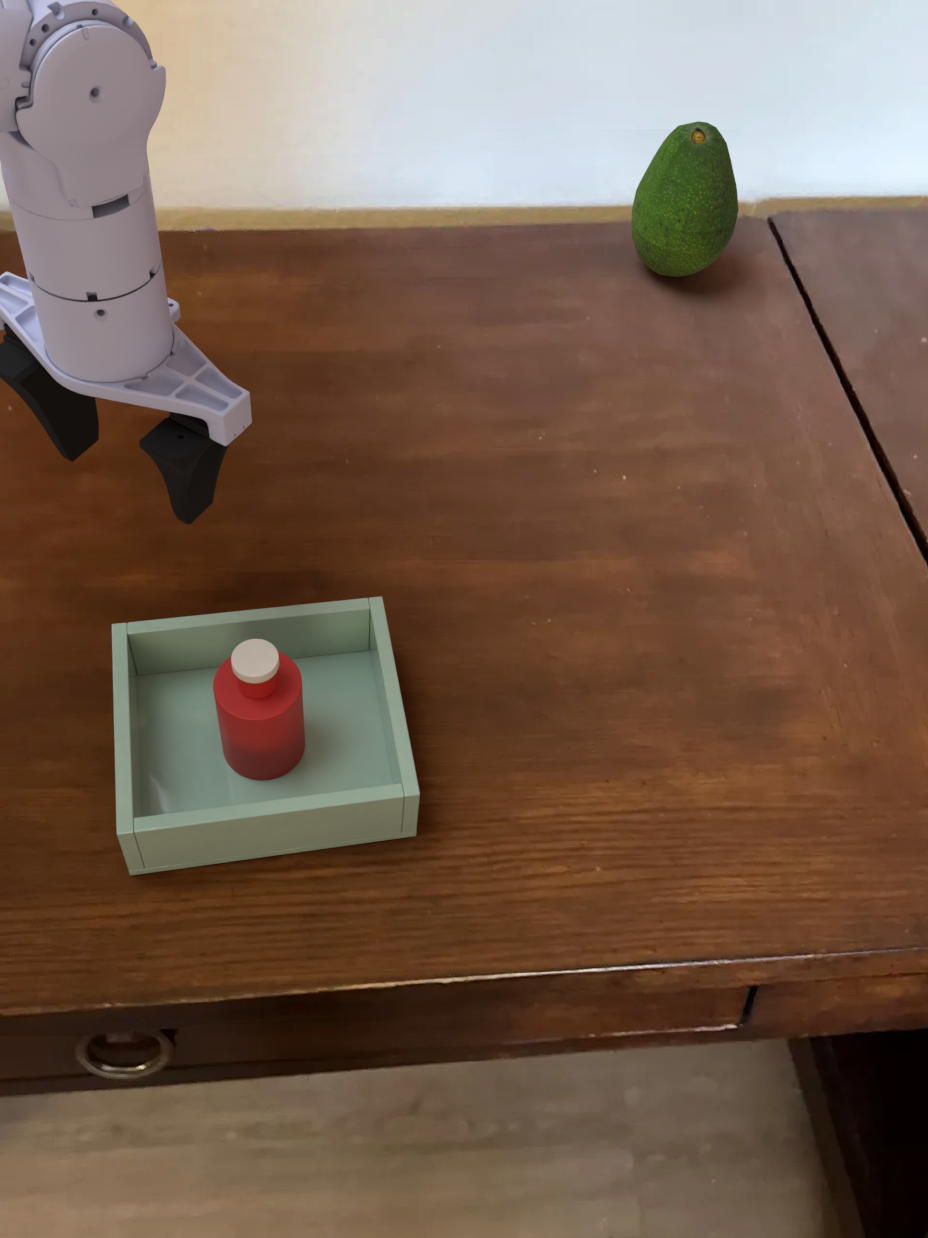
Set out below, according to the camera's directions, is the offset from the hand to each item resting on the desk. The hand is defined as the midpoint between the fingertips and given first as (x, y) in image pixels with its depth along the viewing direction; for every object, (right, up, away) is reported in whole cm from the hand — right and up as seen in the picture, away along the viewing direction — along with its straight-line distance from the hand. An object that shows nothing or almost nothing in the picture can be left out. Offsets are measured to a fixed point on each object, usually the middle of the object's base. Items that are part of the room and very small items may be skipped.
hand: (137, 479), depth 63 cm
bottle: (+6, -14, +2) cm, 16 cm away
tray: (+6, -14, +3) cm, 16 cm away
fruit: (+33, +20, +32) cm, 50 cm away
